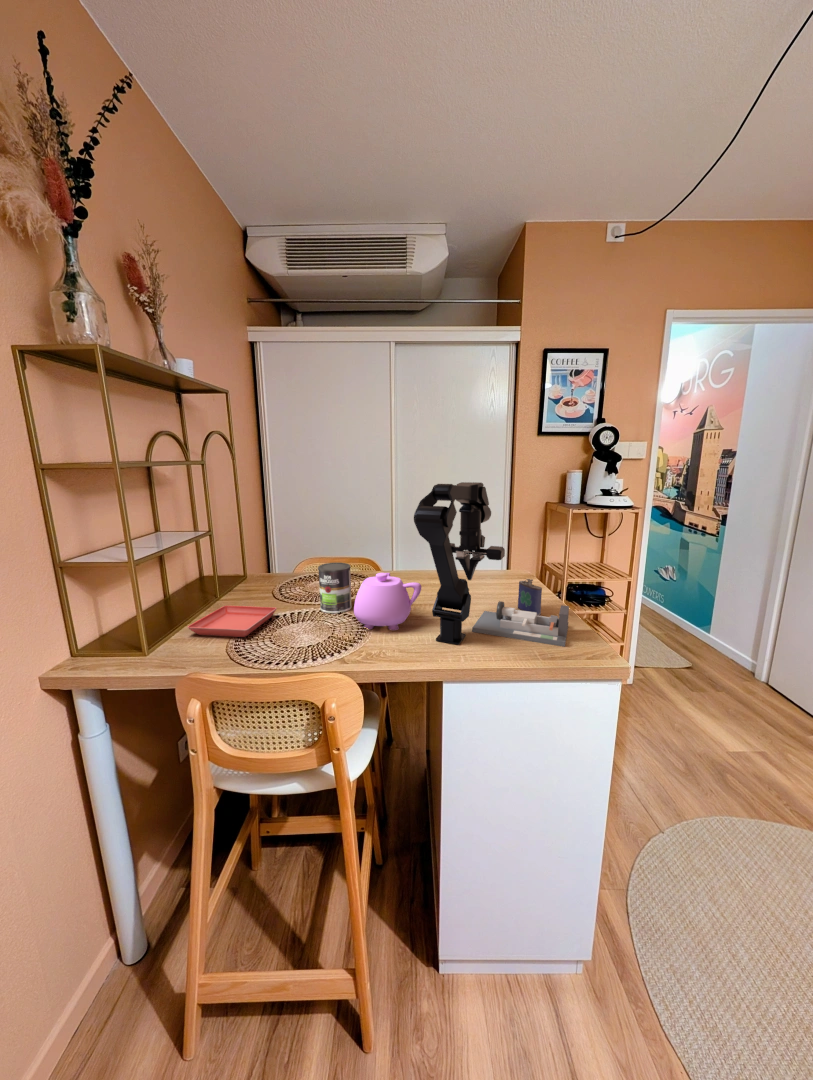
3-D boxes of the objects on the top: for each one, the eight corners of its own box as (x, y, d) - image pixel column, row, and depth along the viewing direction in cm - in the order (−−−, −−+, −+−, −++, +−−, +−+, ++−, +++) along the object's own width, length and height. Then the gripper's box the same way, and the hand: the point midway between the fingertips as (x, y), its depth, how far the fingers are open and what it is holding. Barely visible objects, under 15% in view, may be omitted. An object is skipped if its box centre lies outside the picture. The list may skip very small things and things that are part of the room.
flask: (542, 616, 122) (544, 581, 120) (535, 617, 121) (536, 583, 119) (522, 606, 131) (523, 574, 129) (514, 608, 129) (515, 575, 128)
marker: (546, 637, 104) (547, 627, 103) (550, 624, 112) (550, 615, 111) (554, 639, 103) (554, 628, 102) (557, 625, 111) (557, 616, 111)
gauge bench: (472, 631, 112) (472, 606, 110) (484, 614, 124) (485, 592, 123) (564, 646, 102) (566, 619, 101) (568, 626, 114) (569, 602, 113)
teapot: (424, 609, 130) (423, 564, 127) (419, 635, 110) (419, 582, 107) (363, 608, 132) (362, 563, 129) (349, 633, 112) (346, 581, 109)
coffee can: (343, 615, 126) (341, 571, 123) (314, 611, 129) (311, 569, 126) (357, 604, 135) (355, 563, 133) (329, 601, 138) (327, 561, 136)
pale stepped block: (492, 629, 109) (493, 609, 108) (500, 617, 118) (500, 598, 117) (531, 635, 105) (532, 614, 104) (536, 622, 114) (537, 603, 112)
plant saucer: (225, 614, 129) (224, 604, 128) (278, 616, 126) (277, 606, 125) (186, 638, 111) (185, 627, 111) (247, 641, 108) (246, 630, 108)
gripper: (509, 524, 118) (507, 576, 121) (448, 521, 126) (448, 570, 128) (501, 530, 108) (499, 586, 111) (435, 526, 116) (435, 579, 118)
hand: (469, 579), depth 117 cm, fingers closed
